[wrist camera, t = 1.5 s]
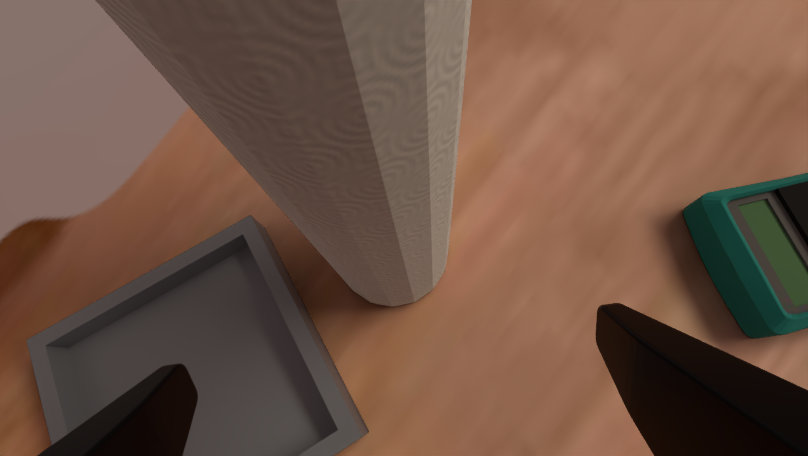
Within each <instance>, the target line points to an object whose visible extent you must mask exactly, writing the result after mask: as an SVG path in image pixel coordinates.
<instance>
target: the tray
mask: <svg viewBox="0 0 808 456" xmlns="http://www.w3.org/2000/svg"><path fill="white" fill-rule="evenodd" d="M27 345H28V349H29V353H30V357H31V361H32V365H33V370H34V374H35V378H36V382H37V386H38V390H39V395H40V399H41V403H42V407H43V411H44V415H45V420H46V424H47V428H48V432H49V436H50V440H51V445H53V444H54V443H56V442H57V441H58V440H60V439H61V438H63V437H64V436H65V435H67V434H68V433H70V432H71V431H72V430H74V429H75V428H77V427H78V426H79V425H81V424H82V423H84V422H85V421H86V420H88V419H89V418H90V417H92V416H93V415H95V414H96V413H97V412H99V411H100V410H102V409H103V408H104V407H106V406H107V405H109V404H110V403H111V402H113V401H114V400H116V399H117V398H118V397H120V396H121V395H123V394H124V393H125V392H127V391H128V390H130V389H131V388H132V387H134V386H135V385H136V384H138V383H139V382H141V381H142V380H143V379H145V378H146V377H148V376H149V375H150V374H152V373H153V372H155V371H156V370H157V369H159V368H160V367H162V366H165V365H171V364H178V363H180V364H183V365H185V366H186V368H187V370H188V372H189V374H190V376H191V378H192V381H193V383H194V385H195V387H196V389H197V393H198V402H197V406H196V409H195V413H194V417H193V420H192V424H191V428H190V431H189V435H188V439H187V442H186V446H185V449H184V453H183V456H334V455H335V454H337V453H338V452H340V451H341V450H343V449H345V448H346V447H348V446H349V445H351V444H352V443H354V442H355V441H357V440H358V439H360V438H361V437H363V436H364V435H366V434H367V433H368V432H369V431H368V429H367V427H366V425H365V423H364V421H363V419H362V417H361V415H360V413H359V411H358V409H357V407H356V405H355V403H354V401H353V400H352V398H351V396H350V394H349V392H348V390H347V388H346V386H345V384H344V382H343V380H342V378H341V376H340V374H339V372H338V370H337V368H336V366H335V364H334V362H333V360H332V358H331V357H330V355H329V353H328V351H327V349H326V347H325V345H324V343H323V341H322V339H321V337H320V335H319V333H318V331H317V329H316V327H315V325H314V323H313V321H312V319H311V317H310V315H309V314H308V312H307V310H306V308H305V306H304V304H303V302H302V300H301V298H300V296H299V294H298V292H297V290H296V288H295V286H294V284H293V282H292V280H291V278H290V276H289V274H288V273H287V271H286V269H285V267H284V265H283V263H282V261H281V259H280V257H279V255H278V253H277V251H276V249H275V247H274V245H273V243H272V241H271V239H270V237H269V235H268V233H267V231H266V230H265V228H264V227H263V226H262V225H261V224H260V223H259V222H258V221H257V220H255V219H254V218H253V217H252V216H251V215H250V216H248V217H246V218H244V219H243V220H241V221H239V222H237V223H235V224H234V225H232V226H230V227H228V228H226V229H225V230H223V231H221V232H219V233H217V234H216V235H214V236H212V237H210V238H208V239H207V240H205V241H203V242H201V243H199V244H198V245H196V246H194V247H192V248H191V249H189V250H187V251H185V252H183V253H182V254H180V255H178V256H176V257H174V258H173V259H171V260H169V261H167V262H165V263H164V264H162V265H160V266H158V267H156V268H155V269H153V270H151V271H149V272H148V273H146V274H144V275H142V276H140V277H139V278H137V279H135V280H133V281H131V282H130V283H128V284H126V285H124V286H122V287H121V288H119V289H117V290H115V291H113V292H112V293H110V294H108V295H106V296H104V297H103V298H101V299H99V300H97V301H96V302H94V303H92V304H90V305H88V306H87V307H85V308H83V309H81V310H79V311H78V312H76V313H74V314H72V315H70V316H69V317H67V318H65V319H63V320H61V321H60V322H58V323H56V324H54V325H52V326H51V327H49V328H47V329H45V330H44V331H42V332H40V333H38V334H36V335H35V336H33V337H31V338H29V339H27Z"/></svg>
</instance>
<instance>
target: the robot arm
mask: <svg viewBox="0 0 808 456" xmlns="http://www.w3.org/2000/svg"><path fill="white" fill-rule="evenodd" d="M596 343H597V346H598V349H599V351H600V353H601V355H602V357H603V359H604V361H605V364H606V366H607V368H608V370H609V372H610V374H611V376H612V379H613V381H614V383H615V385H616V387H617V389H618V392H619V394H620V396H621V398H622V400H623V402H624V404H625V406H626V408H627V410H628V412H629V414H630V416H631V418H632V419H633V421H634V423H635V425H636V426H637V428H638V430H639V431H640V433H641V435H642V436H643V438H644V440H645V441H646V443H647V445H648V446H649V448H650V449H651V451H652V453H653V454H654V456H808V390H806V389H804V388H802V387H800V386H797V385H795V384H793V383H791V382H789V381H787V380H784V379H782V378H780V377H778V376H776V375H774V374H771V373H769V372H767V371H765V370H763V369H761V368H759V367H756V366H754V365H752V364H750V363H748V362H746V361H743V360H741V359H739V358H737V357H735V356H733V355H730V354H728V353H726V352H724V351H722V350H720V349H718V348H715V347H713V346H711V345H709V344H707V343H705V342H702V341H700V340H698V339H696V338H694V337H692V336H689V335H687V334H685V333H683V332H681V331H679V330H677V329H674V328H672V327H670V326H668V325H666V324H664V323H661V322H659V321H657V320H655V319H653V318H651V317H648V316H646V315H644V314H642V313H640V312H638V311H635V310H633V309H631V308H629V307H627V306H625V305H623V304H620V303H613V304H606V305H601V306H600V307H599V308H598V310H597V322H596ZM197 402H198V393H197V389H196V387H195V385H194V383H193V381H192V378H191V376H190V374H189V372H188V370H187V368H186V366H185V365H183V364H180V363H178V364H171V365H165V366H162V367H160V368H159V369H157V370H156V371H155V372H153V373H152V374H150V375H149V376H148V377H146V378H145V379H143V380H142V381H141V382H139V383H138V384H136V385H135V386H134V387H132V388H131V389H130V390H128V391H127V392H125V393H124V394H123V395H121V396H120V397H118V398H117V399H116V400H114V401H113V402H111V403H110V404H109V405H107V406H106V407H104V408H103V409H102V410H100V411H99V412H97V413H96V414H95V415H93V416H92V417H90V418H89V419H88V420H86V421H85V422H84V423H82V424H81V425H79V426H78V427H77V428H75V429H74V430H72V431H71V432H70V433H68V434H67V435H65V436H64V437H63V438H61V439H60V440H58V441H57V442H56V443H54V444H53V445H51V446H50V447H49V448H47V449H46V450H45V451H43V452H42V453H40V454H39V455H38V456H183V453H184V449H185V446H186V442H187V439H188V435H189V431H190V428H191V424H192V420H193V417H194V413H195V409H196V406H197Z"/></svg>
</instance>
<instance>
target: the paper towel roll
mask: <svg viewBox="0 0 808 456" xmlns="http://www.w3.org/2000/svg"><path fill="white" fill-rule="evenodd" d="M96 1H97V3H98V4H99V5H100V6H101V7H102V8H103V9H104V10H105V12H106V13H107V14H108V15H109V16H110V17H111V18H112V19H113V21H114V22H115V23H116V24H117V25H118V26H119V27H120V28H121V29H122V31H123V32H124V33H125V34H126V35H127V36H128V38H129V39H130V40H131V41H132V42H133V43H134V44H135V45H136V47H137V48H138V49H139V50H140V51H141V52H142V53H143V54H144V56H145V57H146V58H147V59H148V60H149V61H150V62H151V63H152V65H154V67H155V68H156V69H157V70H158V71H159V72H160V73H161V75H162V76H163V77H164V78H165V79H166V80H167V81H168V83H169V84H170V85H171V86H172V87H173V88H174V89H175V90H176V92H177V93H178V94H179V95H180V96H181V97H182V98H183V100H184V101H185V102H186V103H187V104H188V105H189V106H190V107H191V109H192V110H193V111H194V112H195V113H196V114H197V115H198V116H199V118H200V119H201V120H202V121H203V122H204V123H205V124H206V125H207V127H208V128H209V129H210V130H211V131H212V132H213V133H214V134H215V136H216V137H217V138H218V139H219V140H220V141H221V142H222V144H223V145H224V146H225V147H226V148H227V149H228V150H229V151H230V153H231V154H232V155H233V156H234V157H235V158H236V159H237V160H238V162H239V163H240V164H241V165H242V166H243V167H244V168H245V169H246V171H247V172H248V173H249V174H250V175H251V176H252V177H253V178H254V180H255V181H256V182H257V183H258V184H259V185H260V186H261V187H262V189H263V190H264V191H265V192H266V193H267V194H268V195H269V197H270V198H271V199H272V200H273V201H274V202H275V203H276V204H277V206H278V207H279V208H280V209H281V210H282V211H283V212H284V213H285V215H286V216H287V217H288V218H289V219H290V220H291V221H292V222H293V224H294V225H295V226H296V227H297V228H298V229H299V230H300V231H301V233H302V234H303V235H304V236H305V237H306V238H307V239H308V240H309V242H310V243H311V244H312V245H313V246H314V247H315V248H316V250H317V251H318V252H319V253H320V254H321V255H322V256H323V257H324V259H325V260H326V261H327V262H328V263H329V264H330V265H331V266H332V268H333V269H334V270H335V271H336V272H337V273H338V274H339V275H340V277H341V278H342V279H343V280H344V281H345V282H346V283H347V284H348V286H349V287H350V288H351V289H352V290H353V291H354V292H356V293H357V294H359V295H360V296H362V297H363V298H365V299H366V300H368V301H369V302H370V303H375V304H380V305H385V306H391V307H394V306H399V305H404V304H409V303H413V302H416V301H417V300H419V299H420V298H421V297H423V296H424V295H426V294H427V293H429V292H430V291H432V290H433V289H434V287H435V286H436V284H437V283H438V281H439V280H440V278H441V276H442V275H443V273H444V272H445V267H446V261H447V256H448V249H449V238H450V227H451V217H452V206H453V195H454V185H455V174H456V163H457V153H458V142H459V132H460V121H461V110H462V100H463V89H464V78H465V68H466V57H467V46H468V36H469V25H470V14H471V4H472V0H96Z"/></svg>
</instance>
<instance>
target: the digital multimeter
mask: <svg viewBox="0 0 808 456" xmlns="http://www.w3.org/2000/svg"><path fill="white" fill-rule="evenodd" d="M683 214H684V218H685V220H686V223H687V225H688V228H689V230H690V233H691V235H692V238H693V240H694V243H695V245H696V247H697V250H698V252H699V254H700V256H701V259H702V261H703V263H704V265H705V267H706V269H707V271H708V273H709V275H710V277H711V279H712V281H713V283H714V284H715V286H716V288H717V289H718V291H719V293H720V294H721V296H722V298H723V300H724V301H725V303H726V305H727V306H728V308H729V310H730V311H731V313H732V314H733V316H734V317H735V319H736V321H737V322H738V324H739V325H740V327H741V329H742V330H743V331H744V333H745V334H746V335H747V336H749V337H751V338H763V337H770V336H777V335H784V334H788V333H791V332H795V331H798V330H801V329H805V328H808V173H805V174H801V175H796V176H792V177H787V178H783V179H778V180H772V181H767V182H762V183H757V184H751V185H746V186H741V187H736V188H730V189H725V190H720V191H715V192H709V193H706V194H704V195H703V196H701V197H700V198H698V199H697V200H696V201H694V202H693V203H691V204H690V205H688V206H687V207H686V208H685V209H684V211H683Z"/></svg>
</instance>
